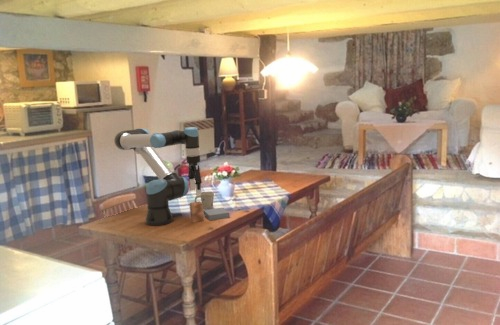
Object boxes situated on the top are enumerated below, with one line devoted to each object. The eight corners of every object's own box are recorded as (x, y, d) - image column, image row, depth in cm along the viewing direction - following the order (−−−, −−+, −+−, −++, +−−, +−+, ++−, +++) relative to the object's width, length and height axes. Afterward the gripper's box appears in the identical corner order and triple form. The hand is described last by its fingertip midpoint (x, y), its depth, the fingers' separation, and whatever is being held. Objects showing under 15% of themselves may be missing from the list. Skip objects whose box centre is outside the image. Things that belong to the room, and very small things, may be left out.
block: (193, 222, 265) (192, 205, 263) (190, 219, 271) (189, 202, 269) (203, 220, 267) (202, 203, 265) (201, 218, 273) (199, 201, 271)
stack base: (209, 220, 267) (209, 215, 267) (203, 215, 278) (203, 210, 278) (229, 217, 271) (229, 212, 271) (223, 212, 282) (223, 207, 282)
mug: (212, 210, 286) (211, 194, 284) (192, 210, 289) (191, 194, 287) (216, 207, 294) (215, 191, 293) (196, 206, 297) (195, 191, 295)
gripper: (205, 157, 252) (208, 196, 256) (194, 151, 275) (196, 187, 279) (191, 159, 249) (194, 198, 253) (181, 153, 272) (184, 189, 276)
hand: (195, 192), depth 266 cm, fingers open, 13 cm apart
